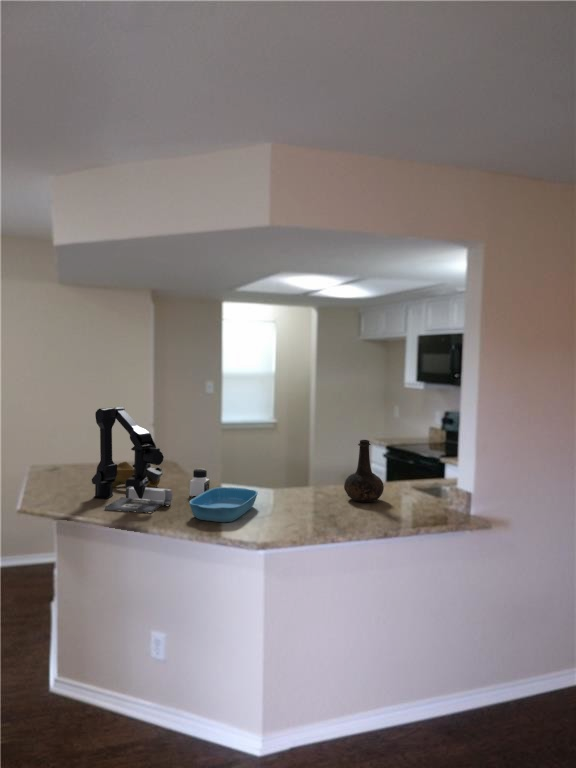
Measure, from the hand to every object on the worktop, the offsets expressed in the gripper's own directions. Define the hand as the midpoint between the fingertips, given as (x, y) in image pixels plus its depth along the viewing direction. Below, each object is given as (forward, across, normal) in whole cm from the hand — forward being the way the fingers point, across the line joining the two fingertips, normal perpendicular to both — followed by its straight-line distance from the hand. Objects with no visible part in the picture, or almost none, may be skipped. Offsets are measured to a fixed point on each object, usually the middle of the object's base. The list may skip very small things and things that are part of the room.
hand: (140, 498), depth 232 cm
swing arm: (+1, +5, -2) cm, 5 cm away
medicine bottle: (+4, +25, -18) cm, 31 cm away
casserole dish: (+4, +1, -36) cm, 36 cm away
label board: (+3, 0, 0) cm, 3 cm away
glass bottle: (+4, +36, -93) cm, 100 cm away
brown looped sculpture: (+4, +32, +19) cm, 37 cm away
